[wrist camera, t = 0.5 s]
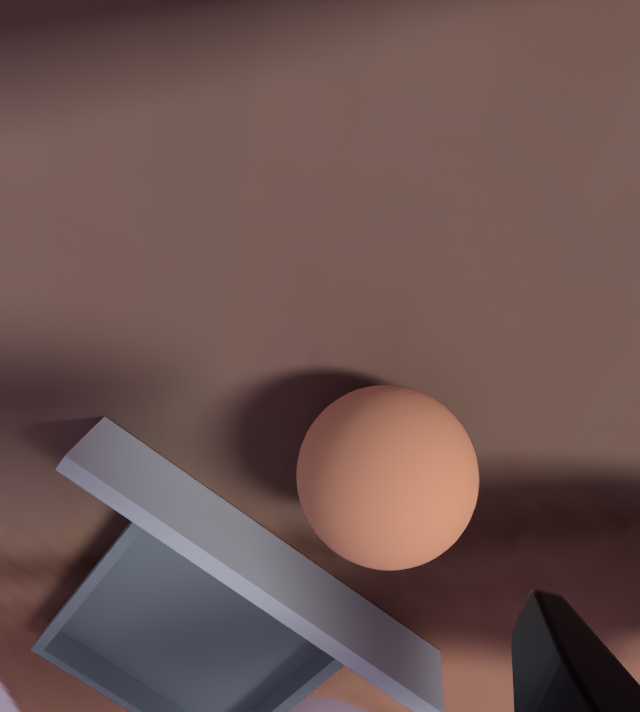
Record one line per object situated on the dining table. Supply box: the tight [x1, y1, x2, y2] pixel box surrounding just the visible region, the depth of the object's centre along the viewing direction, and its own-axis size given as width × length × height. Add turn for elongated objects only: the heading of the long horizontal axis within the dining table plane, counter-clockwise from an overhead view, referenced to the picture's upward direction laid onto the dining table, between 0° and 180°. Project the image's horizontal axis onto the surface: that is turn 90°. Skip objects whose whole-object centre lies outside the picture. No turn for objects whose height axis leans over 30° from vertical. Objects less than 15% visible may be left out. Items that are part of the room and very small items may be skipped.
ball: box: [296, 385, 479, 571], centre depth 19 cm, size 6×6×6 cm
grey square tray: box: [30, 521, 344, 712], centre depth 26 cm, size 11×11×2 cm
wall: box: [55, 416, 445, 712], centre depth 23 cm, size 18×1×3 cm, turn 52°
